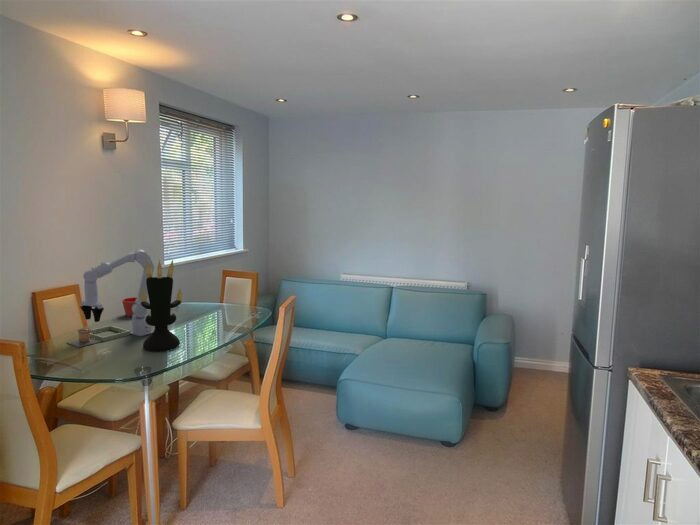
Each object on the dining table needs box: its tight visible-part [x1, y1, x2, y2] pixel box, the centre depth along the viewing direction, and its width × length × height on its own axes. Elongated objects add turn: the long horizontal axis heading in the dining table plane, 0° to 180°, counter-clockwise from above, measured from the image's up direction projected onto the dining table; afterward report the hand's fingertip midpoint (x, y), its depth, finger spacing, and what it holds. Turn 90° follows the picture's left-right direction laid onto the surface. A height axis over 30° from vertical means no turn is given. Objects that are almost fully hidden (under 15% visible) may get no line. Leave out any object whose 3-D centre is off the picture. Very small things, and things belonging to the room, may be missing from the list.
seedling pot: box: [77, 327, 92, 343], centre depth 238 cm, size 6×6×6 cm
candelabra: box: [141, 259, 183, 353], centre depth 230 cm, size 19×22×45 cm
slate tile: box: [66, 338, 102, 349], centre depth 238 cm, size 11×11×1 cm
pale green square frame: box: [90, 325, 132, 342], centre depth 251 cm, size 17×15×2 cm
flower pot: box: [122, 296, 137, 317], centre depth 291 cm, size 11×11×10 cm
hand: (92, 320), depth 244 cm, fingers open, 7 cm apart
